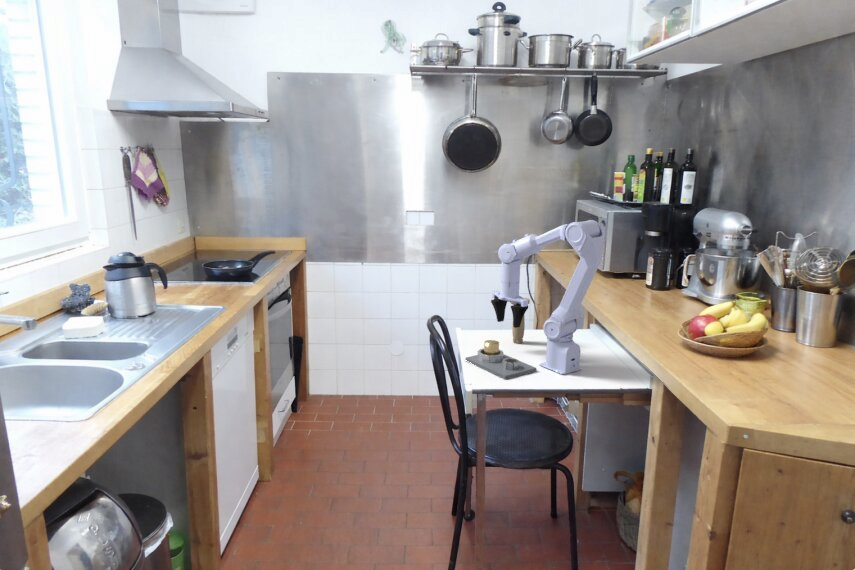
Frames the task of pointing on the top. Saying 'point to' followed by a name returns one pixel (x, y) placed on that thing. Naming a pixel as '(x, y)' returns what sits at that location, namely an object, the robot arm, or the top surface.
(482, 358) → the wide collar
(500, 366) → the board
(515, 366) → the narrow collar
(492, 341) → the brass peg
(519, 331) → the handle
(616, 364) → the top surface
